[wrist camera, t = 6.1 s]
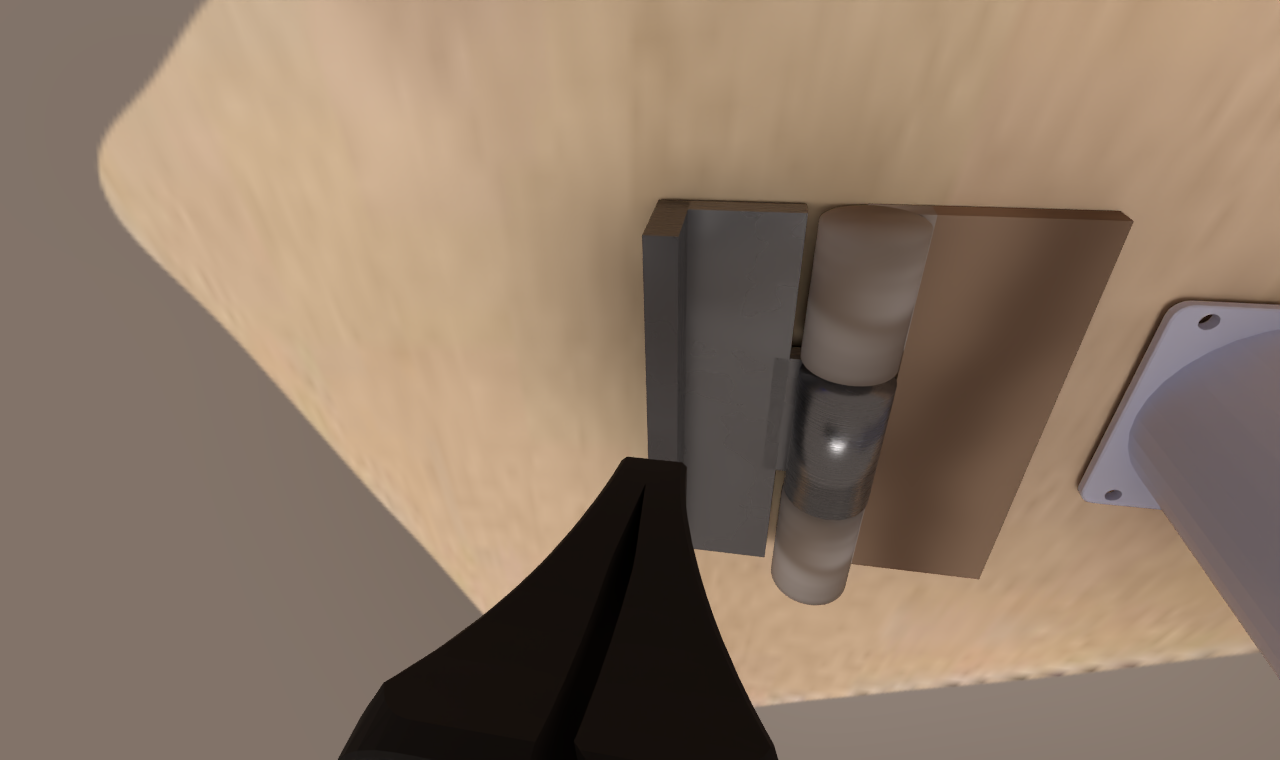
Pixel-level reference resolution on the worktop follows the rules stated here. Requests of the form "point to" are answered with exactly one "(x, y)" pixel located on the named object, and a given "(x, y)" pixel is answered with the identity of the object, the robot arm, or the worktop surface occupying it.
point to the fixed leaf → (942, 372)
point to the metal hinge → (746, 375)
